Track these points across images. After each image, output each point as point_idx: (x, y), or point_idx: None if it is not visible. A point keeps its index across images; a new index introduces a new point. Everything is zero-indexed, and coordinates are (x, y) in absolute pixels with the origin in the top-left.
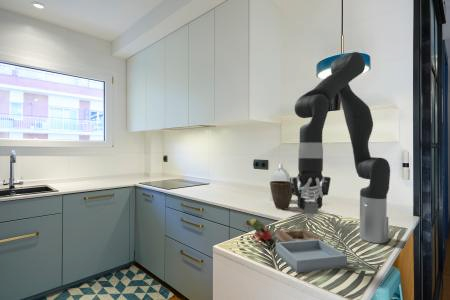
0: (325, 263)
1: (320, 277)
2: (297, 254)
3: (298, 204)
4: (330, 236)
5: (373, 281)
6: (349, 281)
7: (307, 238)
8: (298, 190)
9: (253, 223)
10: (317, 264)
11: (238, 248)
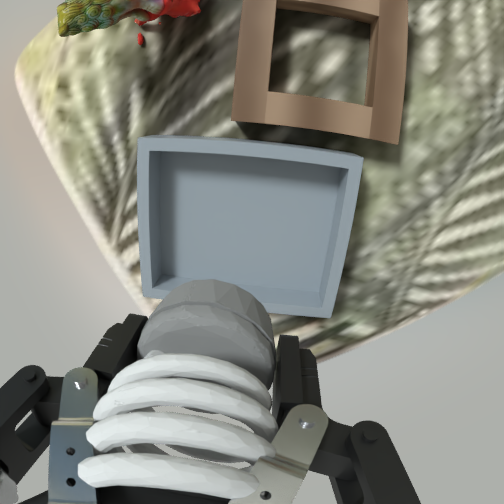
0: None
1: None
2: (214, 190)
3: (109, 342)
4: (482, 80)
5: (321, 360)
6: None
7: (338, 102)
8: (60, 414)
9: (60, 34)
10: None
11: (55, 80)
